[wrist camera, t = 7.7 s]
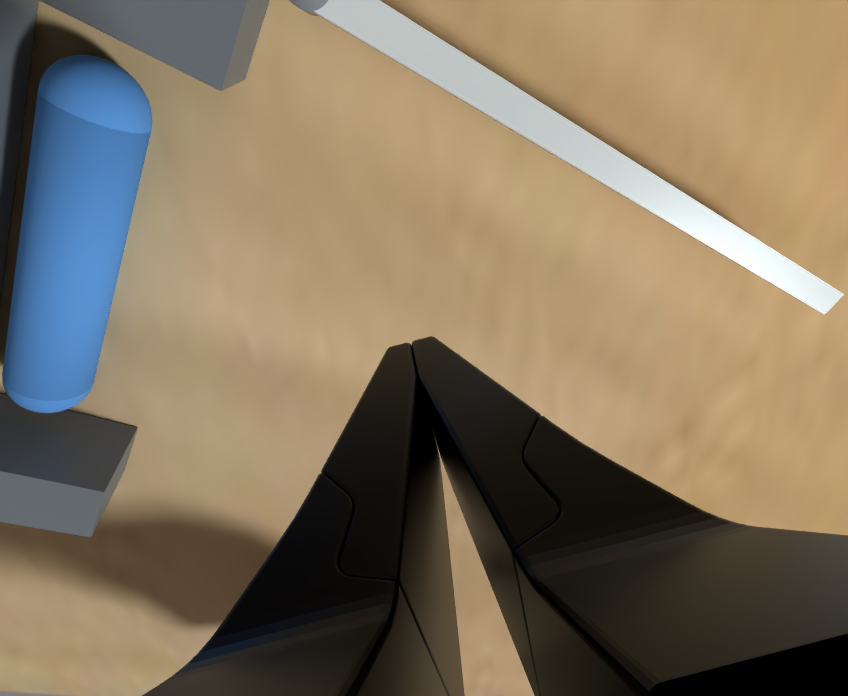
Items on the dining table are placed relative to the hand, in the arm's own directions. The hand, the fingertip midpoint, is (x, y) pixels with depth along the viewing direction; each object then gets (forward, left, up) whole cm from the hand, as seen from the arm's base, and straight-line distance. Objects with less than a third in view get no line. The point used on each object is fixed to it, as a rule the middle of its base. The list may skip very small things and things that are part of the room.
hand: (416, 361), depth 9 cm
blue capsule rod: (-7, +9, -13) cm, 17 cm away
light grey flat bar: (+5, -7, -12) cm, 14 cm away
